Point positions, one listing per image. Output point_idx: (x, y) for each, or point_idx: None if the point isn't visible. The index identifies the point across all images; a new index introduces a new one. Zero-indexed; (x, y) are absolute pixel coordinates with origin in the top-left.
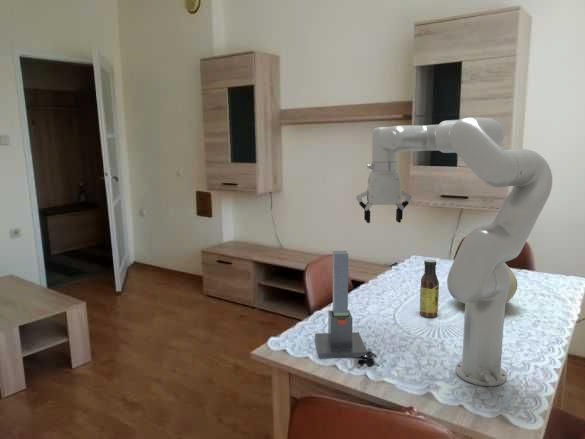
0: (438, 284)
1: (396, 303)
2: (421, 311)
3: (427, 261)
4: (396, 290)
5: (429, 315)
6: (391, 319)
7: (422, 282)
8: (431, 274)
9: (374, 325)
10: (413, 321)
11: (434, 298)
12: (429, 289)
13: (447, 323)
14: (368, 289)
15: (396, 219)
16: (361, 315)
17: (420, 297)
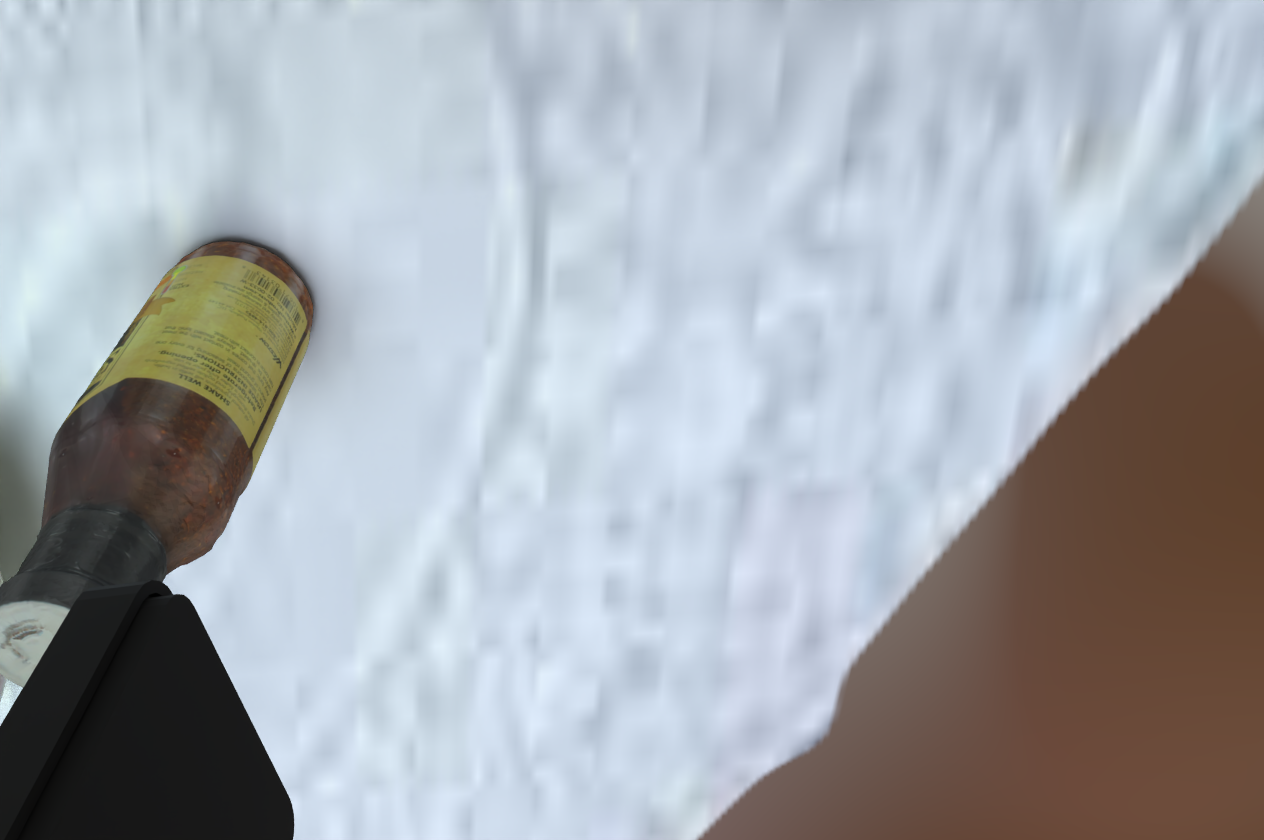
0: (54, 441)
1: (507, 512)
2: (295, 297)
3: None
4: (499, 741)
5: (229, 246)
6: (561, 180)
7: (214, 453)
8: (84, 499)
9: (723, 26)
10: (370, 153)
11: (137, 330)
12: (155, 374)
13: (78, 136)
14: (710, 745)
15: (265, 826)
16: (818, 246)
17: (277, 379)
